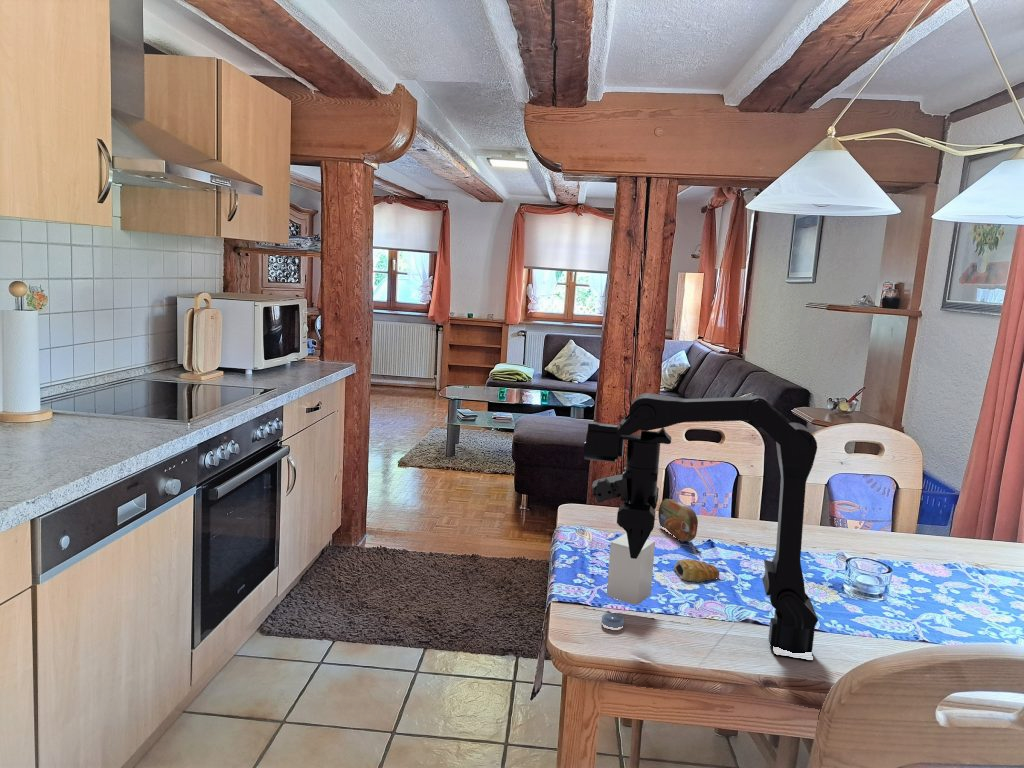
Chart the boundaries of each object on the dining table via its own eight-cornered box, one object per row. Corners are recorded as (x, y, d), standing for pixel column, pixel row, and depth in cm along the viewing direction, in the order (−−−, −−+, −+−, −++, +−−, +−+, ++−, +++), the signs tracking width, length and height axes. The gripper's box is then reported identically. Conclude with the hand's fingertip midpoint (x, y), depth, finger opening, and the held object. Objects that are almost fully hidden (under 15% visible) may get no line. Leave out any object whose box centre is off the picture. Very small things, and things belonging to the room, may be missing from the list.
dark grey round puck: (624, 624, 132) (624, 614, 132) (622, 634, 129) (623, 624, 128) (602, 620, 133) (603, 611, 133) (600, 630, 129) (600, 620, 129)
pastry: (710, 570, 160) (712, 554, 159) (724, 584, 153) (726, 567, 153) (670, 572, 158) (672, 555, 157) (683, 585, 151) (685, 568, 151)
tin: (656, 525, 187) (658, 494, 186) (667, 525, 188) (669, 493, 187) (686, 547, 173) (689, 513, 172) (698, 546, 174) (701, 512, 173)
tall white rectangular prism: (650, 596, 144) (655, 541, 142) (636, 607, 138) (641, 550, 137) (620, 586, 147) (625, 533, 146) (606, 597, 142) (610, 542, 140)
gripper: (602, 448, 139) (597, 526, 141) (590, 473, 121) (584, 561, 123) (661, 454, 136) (655, 533, 138) (657, 480, 118) (650, 571, 120)
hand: (635, 548), depth 130 cm, fingers open, 9 cm apart
